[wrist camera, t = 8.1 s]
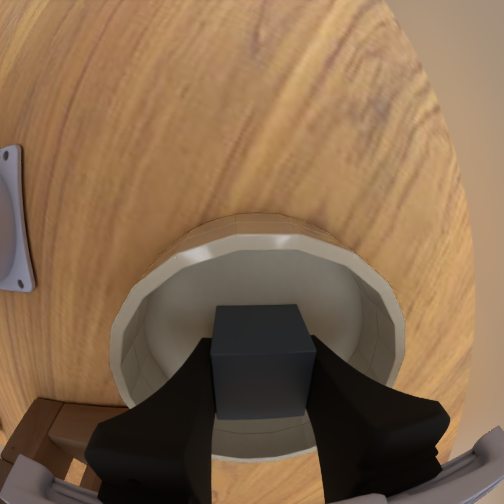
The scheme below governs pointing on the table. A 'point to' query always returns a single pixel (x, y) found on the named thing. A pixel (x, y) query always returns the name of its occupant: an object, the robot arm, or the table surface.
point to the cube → (261, 362)
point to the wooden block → (56, 438)
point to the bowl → (255, 293)
